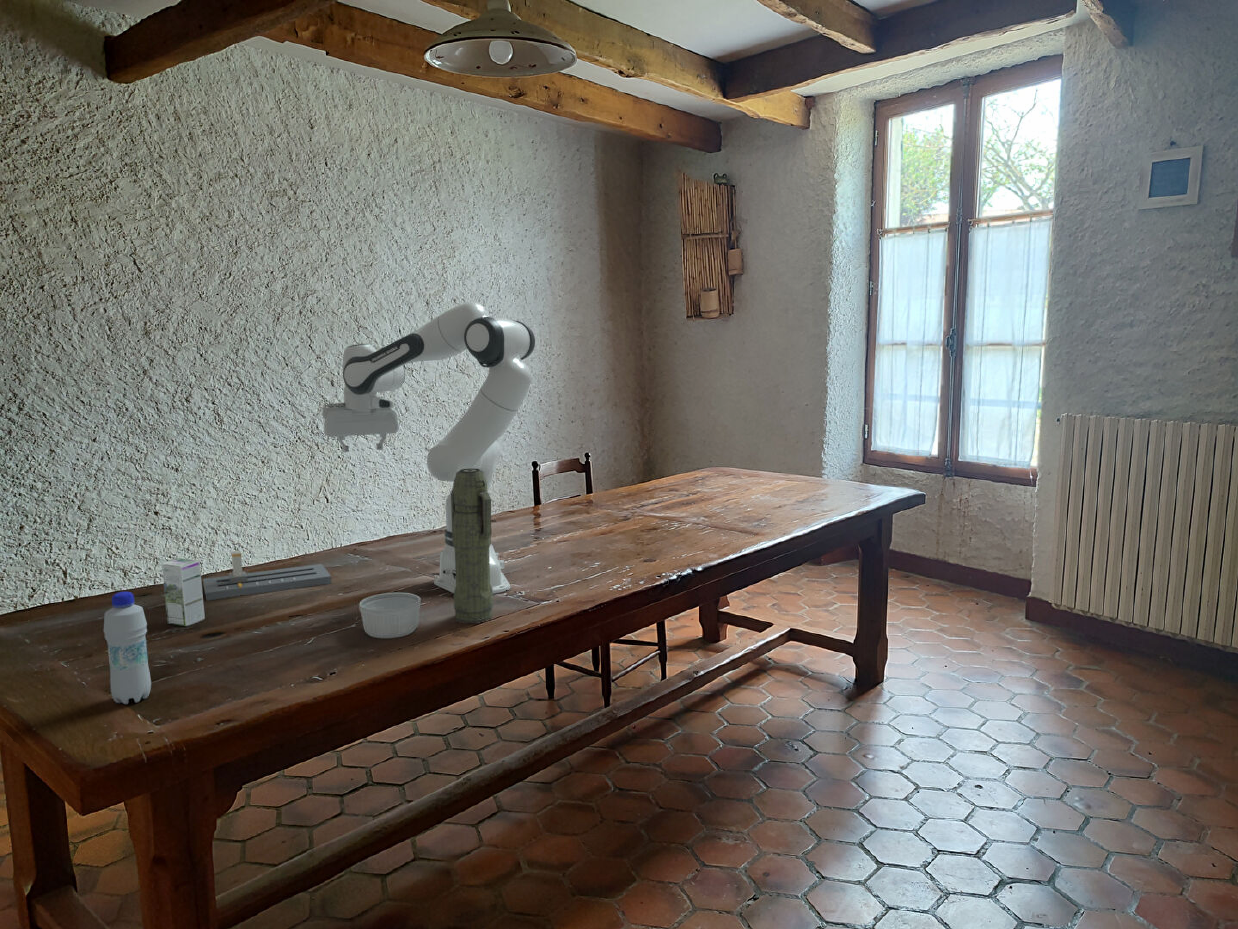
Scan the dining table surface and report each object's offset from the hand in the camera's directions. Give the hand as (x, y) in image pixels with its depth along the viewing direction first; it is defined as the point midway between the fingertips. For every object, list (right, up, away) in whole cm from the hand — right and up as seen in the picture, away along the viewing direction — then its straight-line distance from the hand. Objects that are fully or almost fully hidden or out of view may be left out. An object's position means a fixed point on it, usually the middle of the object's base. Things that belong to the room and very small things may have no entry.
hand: (362, 450), depth 235 cm
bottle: (-15, -47, -85) cm, 98 cm away
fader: (-27, -34, -19) cm, 47 cm away
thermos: (+39, -40, -41) cm, 70 cm away
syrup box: (-27, -40, -44) cm, 66 cm away
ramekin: (+22, -41, -50) cm, 68 cm away
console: (-20, -36, -15) cm, 44 cm away
